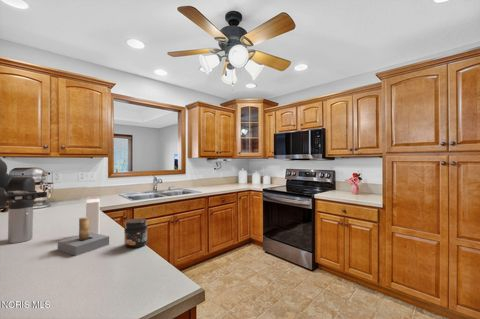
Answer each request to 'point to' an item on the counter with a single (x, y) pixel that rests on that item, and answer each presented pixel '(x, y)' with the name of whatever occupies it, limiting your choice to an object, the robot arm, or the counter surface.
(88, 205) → the white tall block
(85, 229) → the peg
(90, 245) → the board
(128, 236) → the supplement container
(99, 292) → the counter surface
